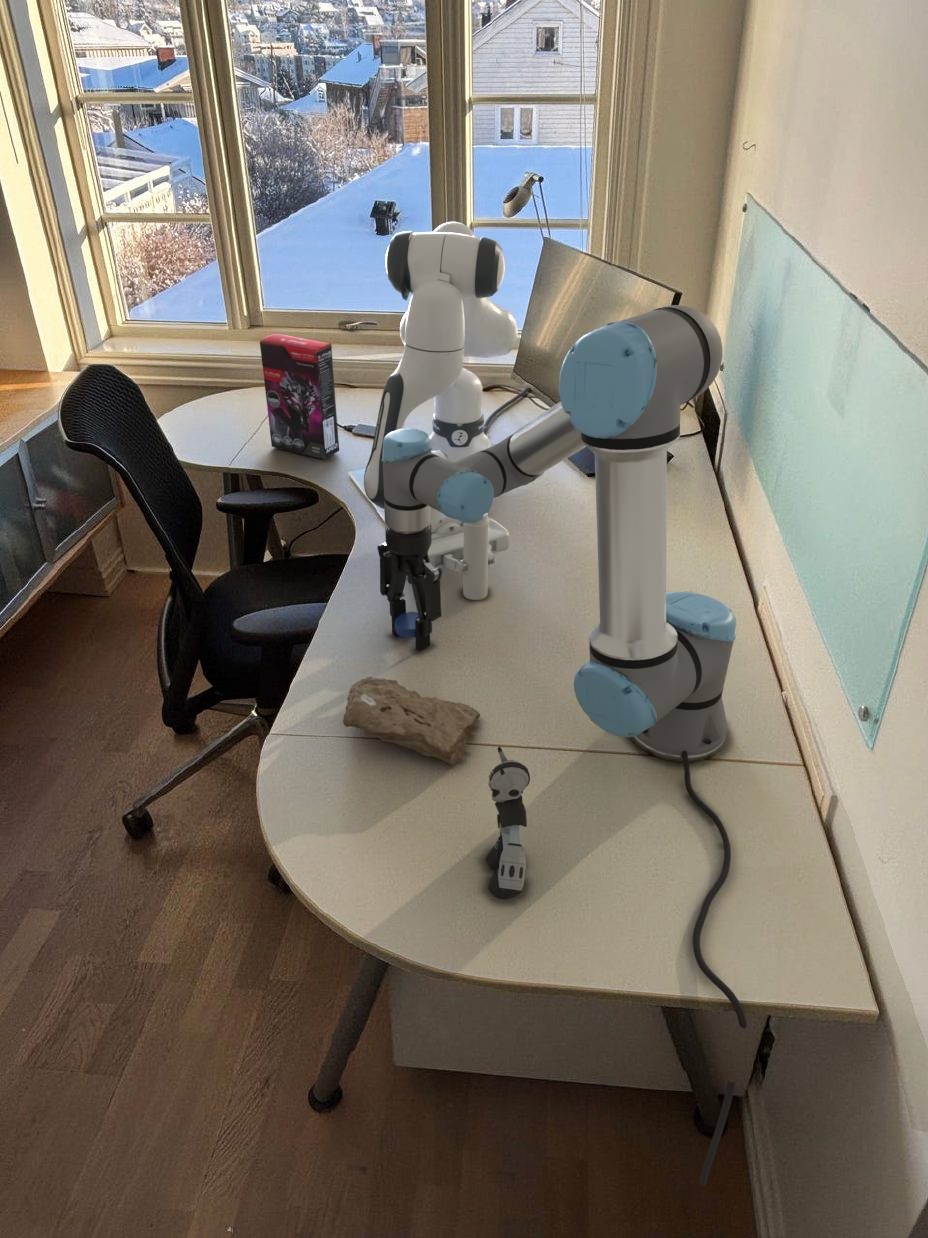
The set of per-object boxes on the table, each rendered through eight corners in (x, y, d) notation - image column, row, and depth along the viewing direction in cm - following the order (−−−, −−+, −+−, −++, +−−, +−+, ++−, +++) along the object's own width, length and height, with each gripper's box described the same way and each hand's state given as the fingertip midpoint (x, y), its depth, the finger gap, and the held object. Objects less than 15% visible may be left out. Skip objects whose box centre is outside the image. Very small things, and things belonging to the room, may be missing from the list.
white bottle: (461, 598, 174) (461, 516, 165) (465, 585, 178) (466, 505, 168) (485, 601, 174) (487, 519, 164) (489, 588, 177) (491, 507, 168)
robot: (531, 936, 111) (540, 818, 100) (491, 937, 111) (496, 820, 100) (516, 817, 127) (522, 704, 116) (481, 818, 127) (484, 705, 116)
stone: (316, 734, 137) (323, 699, 134) (354, 694, 150) (361, 661, 148) (449, 783, 133) (458, 749, 131) (475, 737, 146) (484, 705, 144)
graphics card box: (269, 447, 232) (256, 339, 216) (286, 438, 237) (274, 331, 221) (325, 461, 225) (316, 350, 210) (341, 451, 230) (333, 342, 215)
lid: (421, 640, 158) (421, 631, 157) (390, 635, 160) (390, 626, 159) (430, 623, 163) (430, 614, 162) (400, 618, 164) (400, 609, 163)
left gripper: (395, 530, 175) (428, 563, 165) (488, 507, 184) (525, 537, 174) (396, 559, 179) (428, 593, 169) (487, 535, 187) (523, 566, 177)
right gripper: (465, 536, 146) (463, 653, 159) (388, 497, 157) (392, 610, 170) (430, 552, 142) (431, 672, 155) (353, 511, 153) (360, 626, 166)
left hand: (478, 564), depth 171 cm, fingers closed on white bottle, 4 cm apart
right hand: (410, 639), depth 162 cm, fingers open, 5 cm apart
